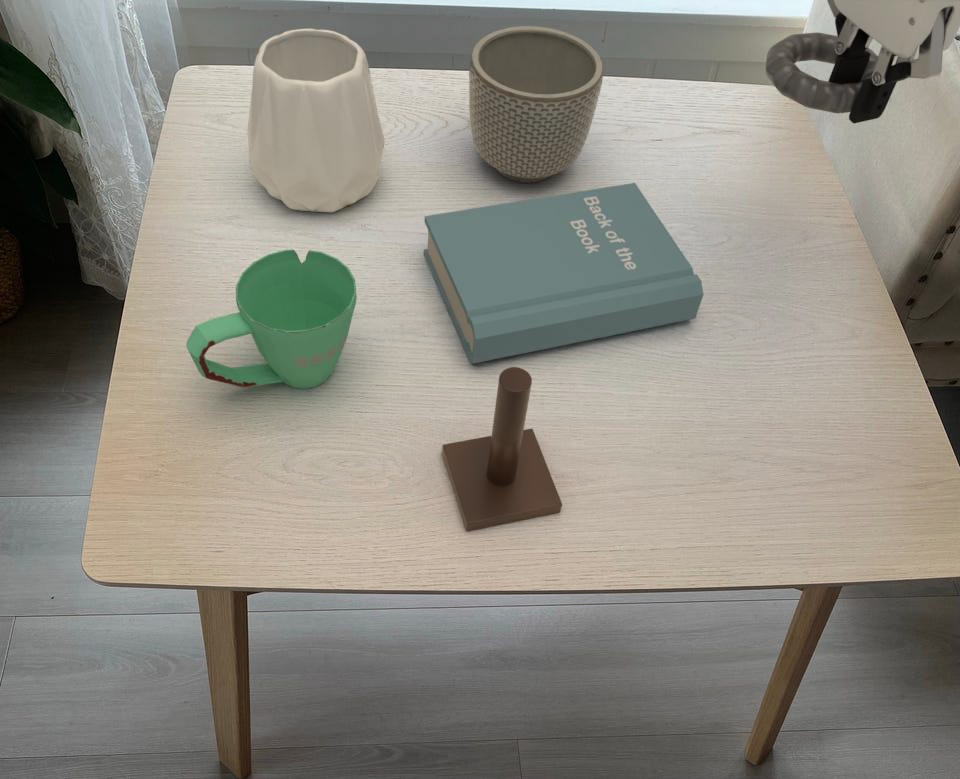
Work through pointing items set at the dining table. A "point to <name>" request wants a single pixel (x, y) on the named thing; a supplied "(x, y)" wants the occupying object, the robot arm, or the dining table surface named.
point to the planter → (532, 100)
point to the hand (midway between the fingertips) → (851, 105)
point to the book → (558, 271)
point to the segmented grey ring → (805, 86)
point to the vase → (314, 121)
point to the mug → (284, 321)
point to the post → (502, 464)
